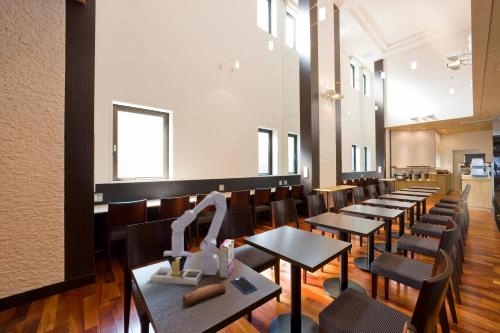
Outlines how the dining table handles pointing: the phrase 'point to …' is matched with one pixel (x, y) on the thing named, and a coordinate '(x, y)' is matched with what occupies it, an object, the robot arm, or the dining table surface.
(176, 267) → the brass block
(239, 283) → the cell phone
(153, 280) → the white compartment tray
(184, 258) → the robot arm
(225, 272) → the candy bar box
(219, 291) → the brown rounded bar
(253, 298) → the dining table surface
